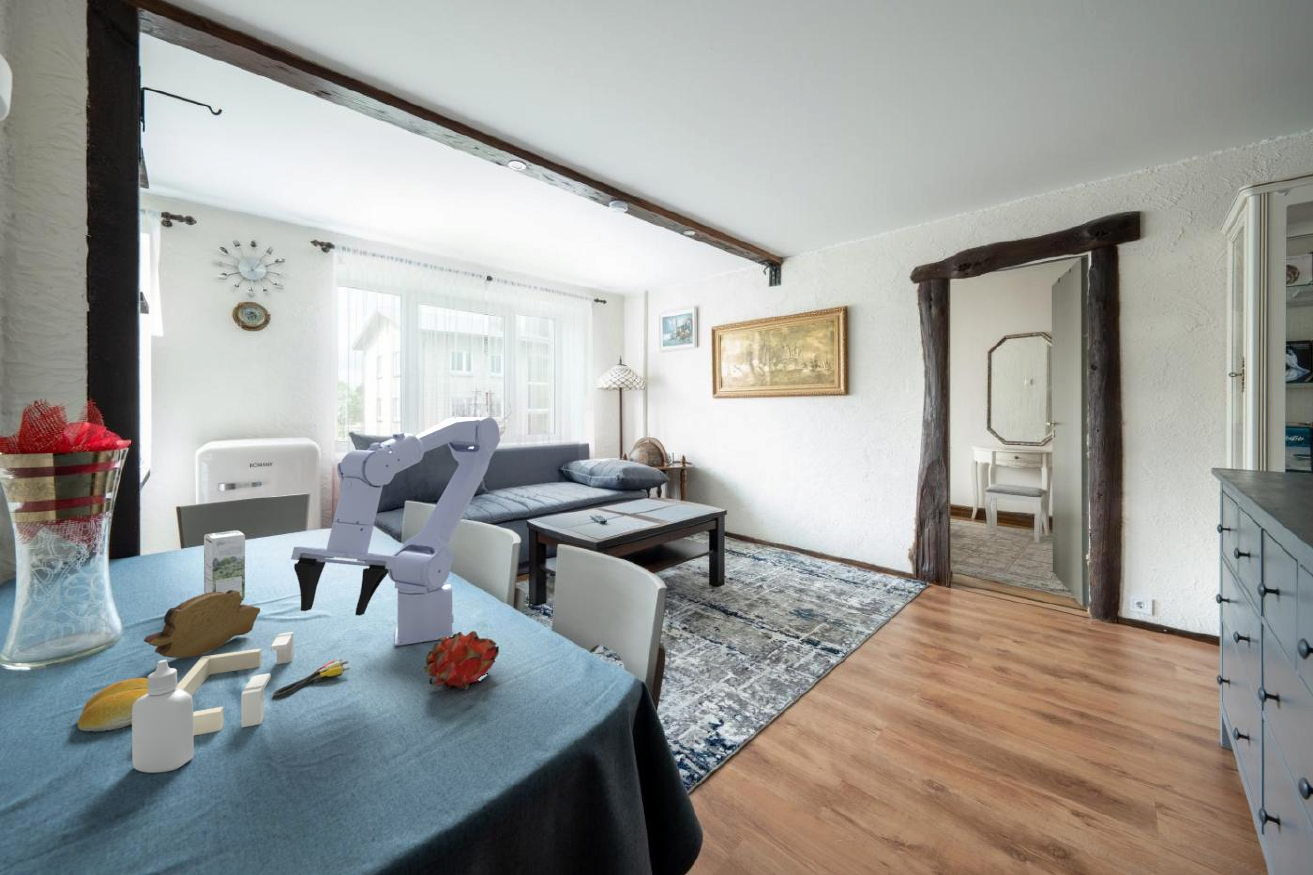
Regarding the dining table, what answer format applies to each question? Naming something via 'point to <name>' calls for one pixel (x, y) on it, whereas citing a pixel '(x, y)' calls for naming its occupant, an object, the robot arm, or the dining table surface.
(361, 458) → the robot arm
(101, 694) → the bread roll
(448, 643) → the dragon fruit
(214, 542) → the syrup box
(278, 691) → the composite cable
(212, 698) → the dining table surface
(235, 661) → the end holder
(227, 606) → the wooden carving
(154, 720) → the eye dropper bottle
